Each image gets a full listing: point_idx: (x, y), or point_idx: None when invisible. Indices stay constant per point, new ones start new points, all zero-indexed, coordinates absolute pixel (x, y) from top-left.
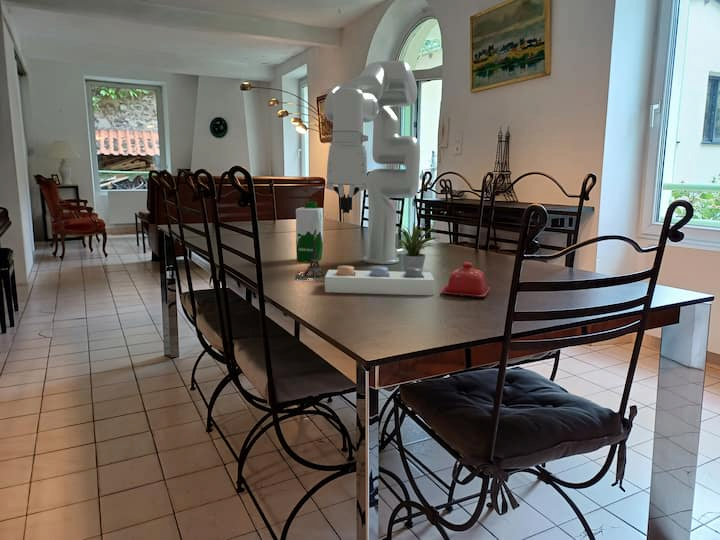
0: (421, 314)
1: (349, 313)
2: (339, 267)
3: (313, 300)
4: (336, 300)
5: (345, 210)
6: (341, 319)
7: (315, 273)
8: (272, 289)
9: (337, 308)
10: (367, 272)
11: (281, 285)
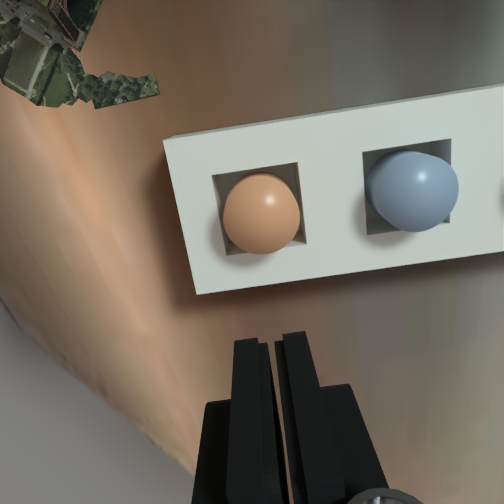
0: (501, 421)
1: None
2: (236, 236)
3: (200, 369)
4: None
5: (284, 458)
6: None
7: (67, 18)
8: (19, 278)
9: None
10: (351, 155)
11: (14, 212)
